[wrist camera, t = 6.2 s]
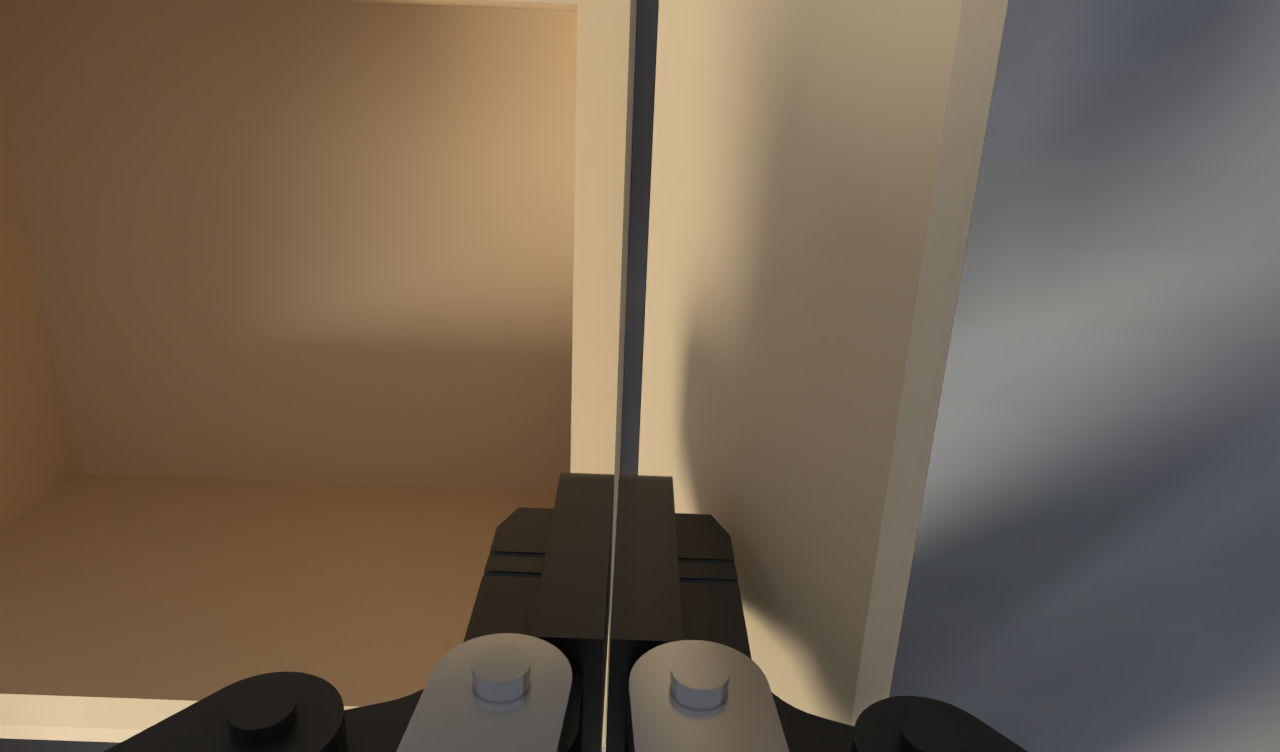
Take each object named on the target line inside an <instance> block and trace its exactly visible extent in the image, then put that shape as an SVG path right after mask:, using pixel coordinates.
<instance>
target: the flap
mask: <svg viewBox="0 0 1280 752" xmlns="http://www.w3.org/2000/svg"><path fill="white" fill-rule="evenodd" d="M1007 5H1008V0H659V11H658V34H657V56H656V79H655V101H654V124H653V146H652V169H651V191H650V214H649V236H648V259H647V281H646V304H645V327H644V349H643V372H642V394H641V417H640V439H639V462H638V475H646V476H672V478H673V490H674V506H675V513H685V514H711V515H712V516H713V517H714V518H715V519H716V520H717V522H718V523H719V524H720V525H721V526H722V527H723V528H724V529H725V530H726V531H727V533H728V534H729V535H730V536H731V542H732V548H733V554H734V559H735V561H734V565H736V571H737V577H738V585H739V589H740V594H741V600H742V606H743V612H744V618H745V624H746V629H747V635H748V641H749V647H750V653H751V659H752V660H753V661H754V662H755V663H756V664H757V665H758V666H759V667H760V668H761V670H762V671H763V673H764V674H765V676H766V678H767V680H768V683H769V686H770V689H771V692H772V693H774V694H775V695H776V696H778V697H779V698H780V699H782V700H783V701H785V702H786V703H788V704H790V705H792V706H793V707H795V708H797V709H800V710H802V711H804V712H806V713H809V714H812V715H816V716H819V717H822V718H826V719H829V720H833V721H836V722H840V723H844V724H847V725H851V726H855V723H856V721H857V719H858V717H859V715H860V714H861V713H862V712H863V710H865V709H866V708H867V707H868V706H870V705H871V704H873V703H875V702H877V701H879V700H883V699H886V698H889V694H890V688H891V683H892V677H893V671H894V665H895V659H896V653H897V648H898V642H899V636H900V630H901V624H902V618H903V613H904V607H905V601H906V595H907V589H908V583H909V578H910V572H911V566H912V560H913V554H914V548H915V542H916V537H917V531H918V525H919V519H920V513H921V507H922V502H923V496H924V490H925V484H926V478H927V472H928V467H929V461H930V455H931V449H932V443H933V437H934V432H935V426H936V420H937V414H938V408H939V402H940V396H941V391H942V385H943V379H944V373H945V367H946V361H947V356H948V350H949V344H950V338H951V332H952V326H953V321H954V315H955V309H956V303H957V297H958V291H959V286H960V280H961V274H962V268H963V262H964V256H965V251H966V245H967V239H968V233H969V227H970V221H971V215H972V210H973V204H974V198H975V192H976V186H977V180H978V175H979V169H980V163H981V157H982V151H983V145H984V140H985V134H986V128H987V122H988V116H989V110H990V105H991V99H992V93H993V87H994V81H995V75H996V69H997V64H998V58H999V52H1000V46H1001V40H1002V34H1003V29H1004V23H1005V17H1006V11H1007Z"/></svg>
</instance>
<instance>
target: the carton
mask: <svg viewBox="0 0 1280 752" xmlns="http://www.w3.org/2000/svg"><path fill="white" fill-rule="evenodd" d="M636 15H637V0H0V738H7V739H34V740H62V741H90V742H117V743H121V742H123V741H125V740H127V739H128V738H130V737H132V736H134V735H136V734H138V733H140V732H142V731H143V730H145V729H147V728H149V727H151V726H153V725H155V724H157V723H158V722H160V721H162V720H164V719H166V718H168V717H170V716H172V715H173V714H175V713H177V712H179V711H181V710H183V709H185V708H187V707H188V706H190V705H192V704H194V703H196V702H198V701H200V700H202V699H203V698H205V697H207V696H209V695H211V694H213V693H215V692H217V691H218V690H220V689H222V688H224V687H226V686H228V685H231V684H233V683H235V682H237V681H240V680H243V679H246V678H249V677H252V676H256V675H260V674H266V673H272V672H287V671H289V672H302V673H307V674H312V675H314V676H317V677H320V678H322V679H324V680H326V681H327V682H329V683H331V684H332V685H333V686H334V687H335V688H336V689H337V690H338V692H339V694H340V695H341V697H342V701H343V704H344V710H347V709H352V708H357V707H362V706H367V705H372V704H377V703H382V702H387V701H391V700H395V699H399V698H402V697H405V696H408V695H411V694H413V693H416V692H418V691H420V690H422V689H424V688H425V686H426V684H427V681H428V679H429V677H430V675H431V672H432V670H433V669H434V667H435V665H436V663H437V662H438V661H439V660H440V659H441V658H442V657H443V656H444V655H445V654H446V653H447V652H449V651H450V650H451V649H453V648H454V647H456V646H458V645H459V644H461V643H463V641H464V638H465V635H466V631H467V628H468V624H469V621H470V617H471V614H472V611H473V607H474V604H475V600H476V597H477V593H478V590H479V587H480V583H481V580H482V576H484V570H485V566H486V563H487V559H488V556H490V549H491V546H492V542H493V539H494V535H495V532H496V528H497V527H498V526H499V525H500V524H501V523H502V522H503V521H504V520H505V519H506V518H508V517H509V516H510V515H511V514H512V513H513V512H514V511H515V510H516V509H517V508H519V507H524V508H550V509H554V504H555V499H556V494H557V488H558V483H559V477H560V473H561V472H564V473H590V474H614V506H613V535H612V563H611V590H610V612H609V631H608V648H607V665H606V683H605V700H604V718H603V735H602V747H605V740H606V722H607V704H608V681H609V654H610V630H611V612H612V593H613V575H614V556H615V537H616V519H617V500H618V482H619V474H620V455H621V427H622V400H623V372H624V345H625V317H626V290H627V262H628V235H629V207H630V180H631V152H632V125H633V98H634V70H635V43H636Z"/></svg>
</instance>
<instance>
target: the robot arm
mask: <svg viewBox="0 0 1280 752" xmlns="http://www.w3.org/2000/svg"><path fill="white" fill-rule="evenodd" d="M613 506H614V474H590V473H564V472H561V473H560V477H559V483H558V488H557V494H556V499H555V504H554V509H550V508H524V507H519V508H517V509H516V510H515V511H514V512H513V513H512V514H511V515H510V516H509V517H508V518H506V519H505V520H504V521H503V522H502V523H501V524H500V525H499V526H498V527H497V528H496V532H495V535H494V539H493V542H492V546H491V549H490V556H488V559H487V563H486V566H485V570H484V576H482V580H481V583H480V587H479V590H478V593H477V597H476V600H475V604H474V607H473V611H472V614H471V617H470V621H469V624H468V628H467V631H466V635H465V638H464V641H463V643H461V644H459V645H458V646H456V647H454V648H453V649H451V650H450V651H449V652H447V653H446V654H445V655H444V656H443V657H442V658H441V659H440V660H439V661H438V662H437V663H436V665H435V667H434V669H433V670H432V672H431V675H430V677H429V679H428V681H427V684H426V686H425V688H424V689H422V690H420V691H418V692H416V693H413V694H411V695H408V696H405V697H402V698H399V699H395V700H391V701H387V702H382V703H377V704H372V705H367V706H362V707H357V708H352V709H347V710H344V704H343V701H342V697H341V695H340V694H339V692H338V690H337V689H336V688H335V687H334V686H333V685H332V684H331V683H329V682H327V681H326V680H324V679H322V678H320V677H317V676H314V675H312V674H307V673H302V672H289V671H287V672H272V673H266V674H260V675H256V676H252V677H249V678H246V679H243V680H240V681H237V682H235V683H233V684H231V685H228V686H226V687H224V688H222V689H220V690H218V691H217V692H215V693H213V694H211V695H209V696H207V697H205V698H203V699H202V700H200V701H198V702H196V703H194V704H192V705H190V706H188V707H187V708H185V709H183V710H181V711H179V712H177V713H175V714H173V715H172V716H170V717H168V718H166V719H164V720H162V721H160V722H158V723H157V724H155V725H153V726H151V727H149V728H147V729H145V730H143V731H142V732H140V733H138V734H136V735H134V736H132V737H130V738H128V739H127V740H125V741H123V742H121V743H119V744H117V745H115V746H113V747H112V748H110V749H108V750H106V751H104V752H602V735H603V718H604V700H605V683H606V665H607V648H608V631H609V612H610V590H611V563H612V535H613ZM734 561H735V559H734V554H733V548H732V542H731V536H730V535H729V534H728V533H727V531H726V530H725V529H724V528H723V527H722V526H721V525H720V524H719V523H718V522H717V520H716V519H715V518H714V517H713V516H712V515H711V514H685V513H675V506H674V490H673V478H672V476H646V475H620V474H619V482H618V500H617V519H616V537H615V556H614V575H613V593H612V612H611V630H610V654H609V681H608V709H607V737H606V752H1028V751H1026V750H1025V749H1023V748H1021V747H1020V746H1018V745H1017V744H1015V743H1014V742H1012V741H1011V740H1009V739H1008V738H1006V737H1005V736H1003V735H1002V734H1000V733H999V732H997V731H996V730H994V729H993V728H991V727H990V726H988V725H986V724H985V723H983V722H982V721H980V720H979V719H977V718H976V717H974V716H972V715H971V714H969V713H967V712H966V711H964V710H962V709H960V708H957V707H955V706H953V705H951V704H948V703H945V702H942V701H939V700H934V699H930V698H926V697H917V696H897V697H890V698H886V699H883V700H879V701H877V702H875V703H873V704H871V705H870V706H868V707H867V708H866V709H865V710H863V712H862V713H861V714H860V715H859V717H858V719H857V721H856V723H855V726H851V725H847V724H844V723H840V722H836V721H833V720H829V719H826V718H822V717H819V716H816V715H812V714H809V713H806V712H804V711H802V710H800V709H797V708H795V707H793V706H792V705H790V704H788V703H786V702H785V701H783V700H782V699H780V698H779V697H778V696H776V695H775V694H774V693H772V692H771V689H770V686H769V683H768V680H767V678H766V676H765V674H764V673H763V671H762V670H761V668H760V667H759V666H758V665H757V664H756V663H755V662H754V661H753V660H752V659H751V653H750V647H749V641H748V635H747V629H746V624H745V618H744V612H743V606H742V600H741V594H740V589H739V585H738V577H737V571H736V565H734Z"/></svg>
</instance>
